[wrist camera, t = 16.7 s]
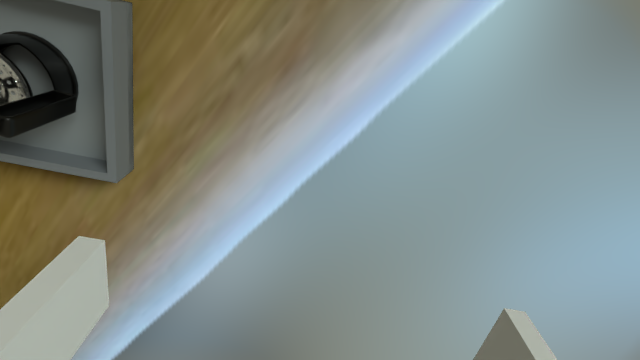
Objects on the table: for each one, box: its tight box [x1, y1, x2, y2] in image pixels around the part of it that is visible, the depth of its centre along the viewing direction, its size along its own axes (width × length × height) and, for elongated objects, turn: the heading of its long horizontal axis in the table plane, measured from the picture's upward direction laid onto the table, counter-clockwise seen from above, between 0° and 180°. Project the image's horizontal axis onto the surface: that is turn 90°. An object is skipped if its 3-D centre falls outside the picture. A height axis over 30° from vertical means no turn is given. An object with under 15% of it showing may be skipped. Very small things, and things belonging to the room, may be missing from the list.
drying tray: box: [0, 0, 134, 183], centre depth 37 cm, size 19×19×4 cm
